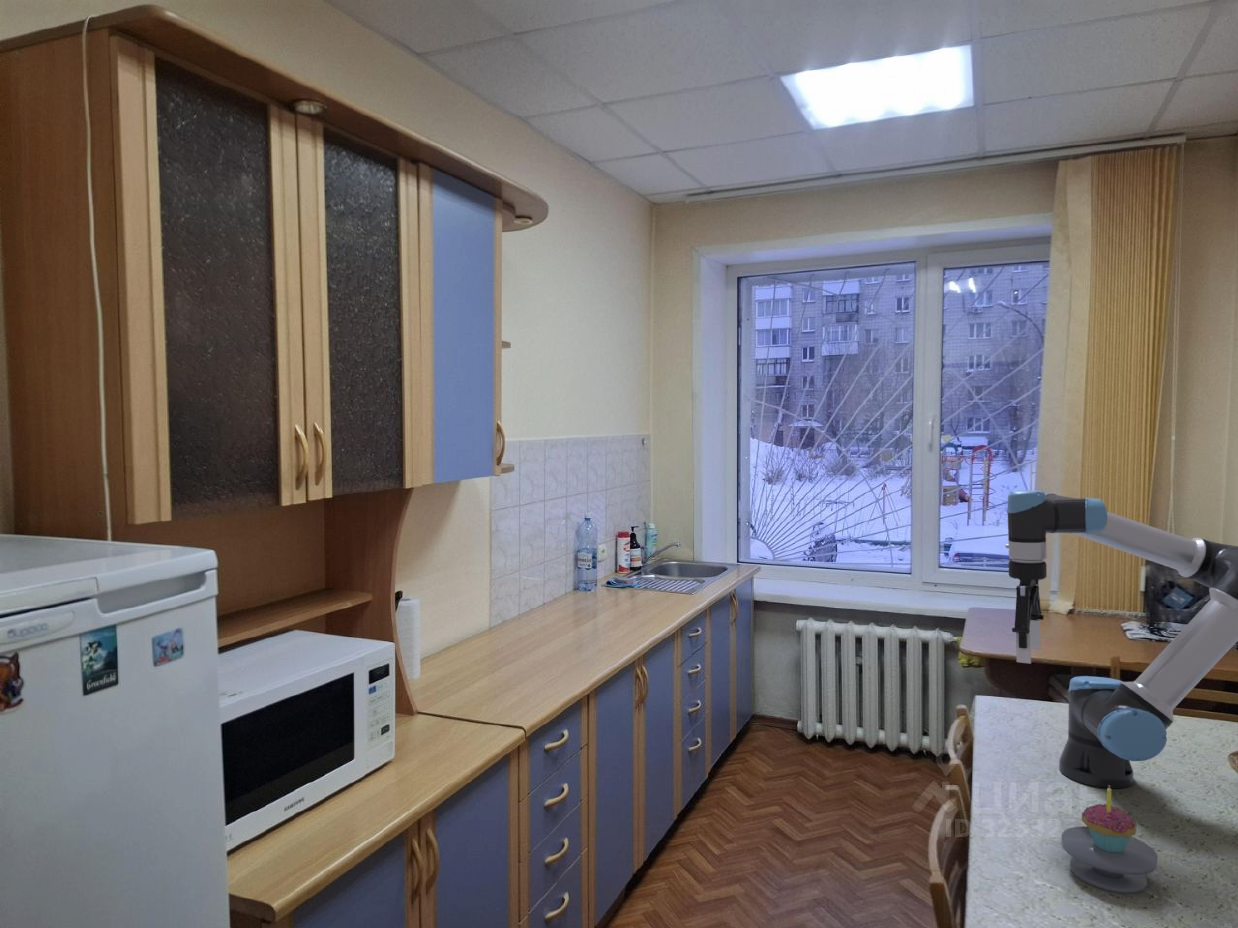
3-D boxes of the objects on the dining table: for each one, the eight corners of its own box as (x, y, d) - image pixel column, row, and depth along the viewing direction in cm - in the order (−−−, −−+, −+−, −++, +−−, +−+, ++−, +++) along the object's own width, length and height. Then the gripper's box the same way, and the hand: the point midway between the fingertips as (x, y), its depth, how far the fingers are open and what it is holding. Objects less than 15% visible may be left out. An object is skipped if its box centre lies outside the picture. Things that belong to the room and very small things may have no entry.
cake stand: (1129, 856, 155) (1130, 828, 155) (1175, 900, 140) (1176, 870, 140) (1047, 851, 157) (1047, 824, 157) (1083, 895, 142) (1084, 865, 142)
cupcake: (1136, 862, 142) (1137, 795, 142) (1080, 849, 147) (1081, 784, 147) (1135, 841, 150) (1136, 777, 149) (1082, 830, 154) (1083, 767, 154)
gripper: (1018, 552, 193) (1019, 641, 193) (998, 566, 173) (999, 666, 173) (1053, 553, 189) (1055, 644, 189) (1037, 569, 168) (1039, 671, 169)
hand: (1028, 655), depth 181 cm, fingers open, 13 cm apart
